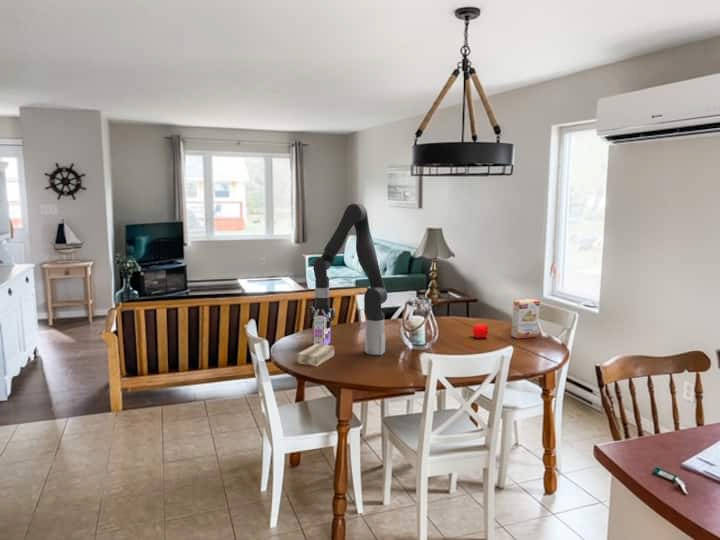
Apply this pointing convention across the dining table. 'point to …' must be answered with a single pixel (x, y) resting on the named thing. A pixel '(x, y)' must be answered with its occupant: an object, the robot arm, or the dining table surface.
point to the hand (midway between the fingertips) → (322, 327)
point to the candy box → (321, 330)
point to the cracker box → (525, 318)
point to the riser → (315, 354)
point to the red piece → (480, 331)
